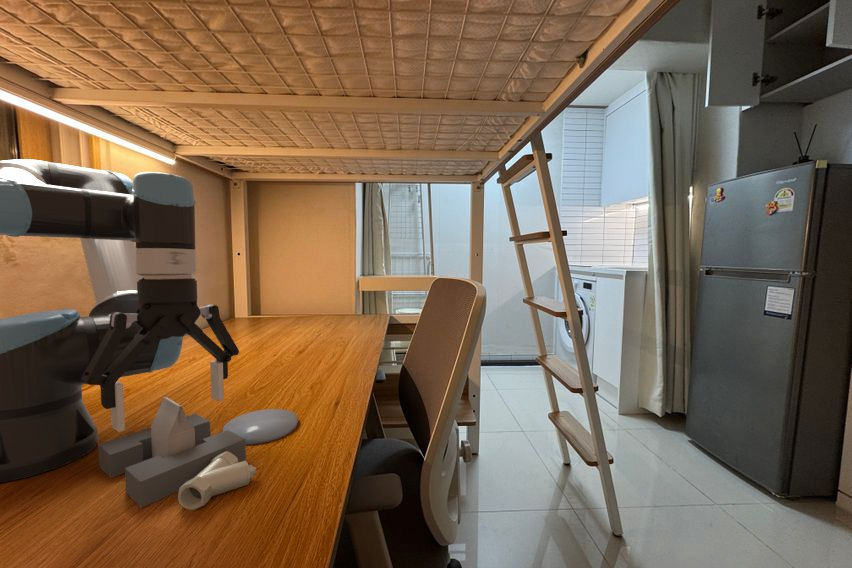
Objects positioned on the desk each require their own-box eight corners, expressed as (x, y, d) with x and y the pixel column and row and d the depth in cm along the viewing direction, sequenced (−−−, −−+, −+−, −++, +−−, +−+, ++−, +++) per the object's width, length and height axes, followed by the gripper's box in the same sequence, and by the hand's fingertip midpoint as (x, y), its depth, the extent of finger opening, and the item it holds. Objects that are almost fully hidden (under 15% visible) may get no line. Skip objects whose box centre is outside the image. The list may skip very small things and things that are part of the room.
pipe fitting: (259, 479, 55) (215, 474, 55) (260, 454, 54) (217, 449, 55) (228, 516, 47) (177, 510, 47) (229, 487, 46) (178, 481, 47)
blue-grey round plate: (209, 431, 68) (209, 426, 68) (272, 408, 79) (272, 404, 79) (247, 452, 61) (247, 446, 61) (311, 424, 72) (311, 419, 72)
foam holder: (98, 465, 57) (97, 444, 56) (195, 431, 68) (195, 413, 68) (141, 507, 47) (140, 481, 47) (245, 459, 59) (245, 438, 59)
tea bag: (168, 476, 54) (166, 410, 54) (152, 461, 58) (150, 400, 58) (195, 465, 57) (193, 403, 57) (178, 451, 61) (176, 393, 61)
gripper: (61, 280, 43) (70, 453, 45) (258, 275, 64) (260, 393, 65) (46, 279, 48) (55, 437, 49) (235, 275, 68) (238, 386, 69)
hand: (172, 412), depth 57 cm, fingers open, 13 cm apart
